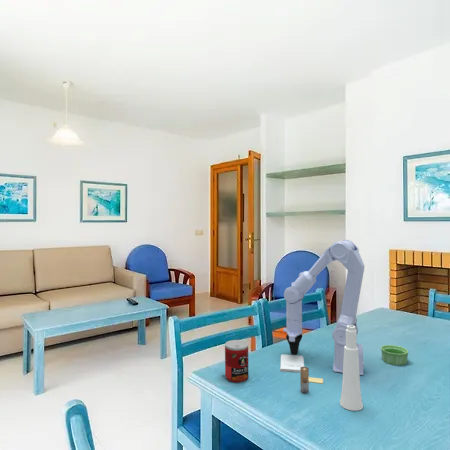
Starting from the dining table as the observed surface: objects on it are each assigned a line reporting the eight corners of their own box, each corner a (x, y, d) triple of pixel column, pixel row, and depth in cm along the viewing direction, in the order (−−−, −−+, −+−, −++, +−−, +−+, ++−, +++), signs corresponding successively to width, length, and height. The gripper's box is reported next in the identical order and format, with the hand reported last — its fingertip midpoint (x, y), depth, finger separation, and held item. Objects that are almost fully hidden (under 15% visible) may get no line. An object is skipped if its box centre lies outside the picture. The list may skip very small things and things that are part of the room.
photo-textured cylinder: (309, 390, 104) (308, 367, 104) (308, 393, 102) (308, 370, 101) (300, 388, 105) (300, 366, 104) (300, 392, 102) (300, 369, 102)
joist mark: (323, 379, 111) (323, 378, 111) (322, 383, 108) (322, 383, 108) (307, 377, 112) (307, 376, 112) (306, 381, 109) (306, 380, 109)
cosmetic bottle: (342, 397, 99) (342, 321, 99) (364, 402, 96) (364, 324, 96) (337, 407, 94) (337, 327, 94) (361, 413, 91) (360, 330, 91)
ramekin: (411, 360, 125) (411, 348, 125) (404, 368, 118) (404, 356, 118) (385, 354, 131) (385, 342, 131) (377, 361, 124) (377, 349, 124)
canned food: (232, 385, 107) (232, 350, 107) (220, 374, 115) (220, 342, 114) (253, 379, 111) (253, 345, 111) (240, 370, 118) (240, 338, 118)
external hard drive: (303, 360, 128) (304, 374, 115) (280, 358, 129) (280, 372, 117) (303, 355, 128) (304, 369, 115) (280, 354, 129) (280, 368, 117)
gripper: (286, 312, 137) (286, 346, 137) (280, 322, 123) (280, 360, 123) (304, 313, 135) (304, 348, 135) (300, 324, 121) (300, 362, 121)
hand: (294, 354), depth 129 cm, fingers closed
